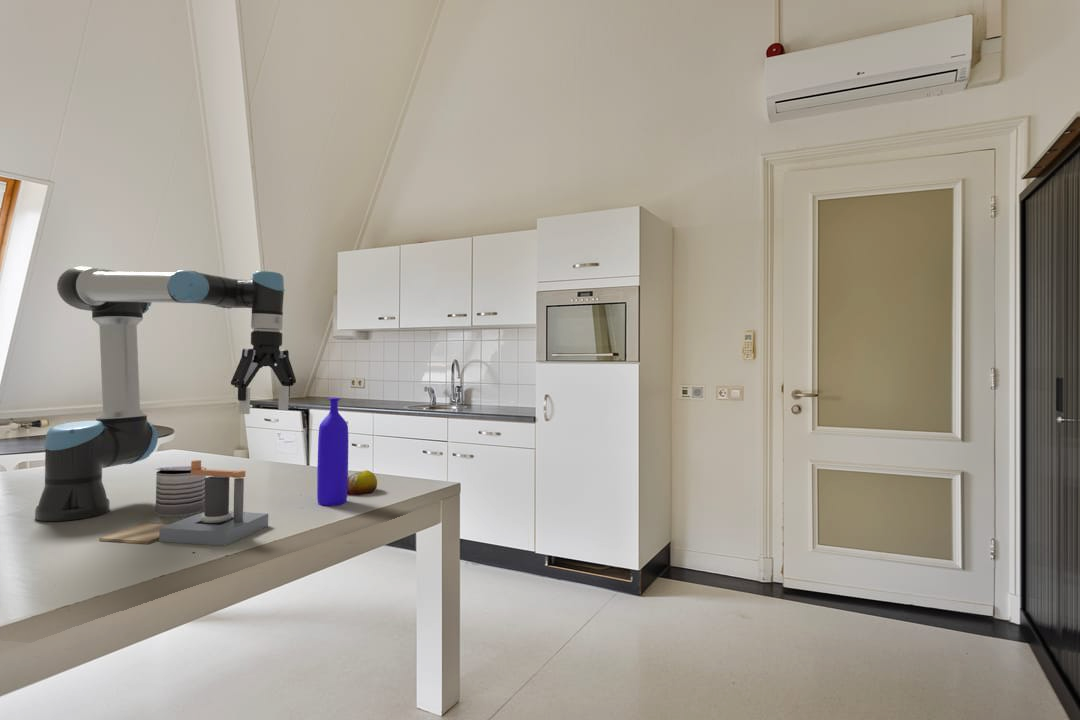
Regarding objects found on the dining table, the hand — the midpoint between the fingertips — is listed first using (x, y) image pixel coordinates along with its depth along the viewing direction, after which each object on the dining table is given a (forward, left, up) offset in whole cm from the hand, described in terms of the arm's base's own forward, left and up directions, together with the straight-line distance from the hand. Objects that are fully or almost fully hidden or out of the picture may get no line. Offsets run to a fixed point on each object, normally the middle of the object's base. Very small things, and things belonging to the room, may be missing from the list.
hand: (264, 411), depth 156 cm
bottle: (+11, +16, -27) cm, 34 cm away
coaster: (-16, -21, -27) cm, 38 cm away
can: (-23, -1, -27) cm, 36 cm away
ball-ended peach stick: (-1, -17, -14) cm, 22 cm away
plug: (-1, -17, -27) cm, 32 cm away
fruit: (+12, +31, -27) cm, 43 cm away
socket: (-1, -17, -27) cm, 32 cm away
